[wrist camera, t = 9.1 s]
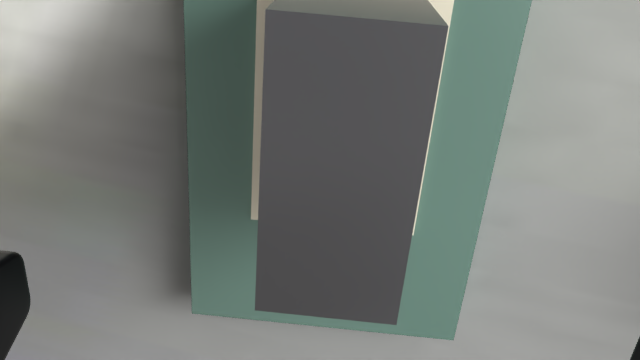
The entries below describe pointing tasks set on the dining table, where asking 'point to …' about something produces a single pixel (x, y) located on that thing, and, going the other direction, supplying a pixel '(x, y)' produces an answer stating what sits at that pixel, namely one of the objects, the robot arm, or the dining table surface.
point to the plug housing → (343, 152)
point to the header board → (438, 175)
